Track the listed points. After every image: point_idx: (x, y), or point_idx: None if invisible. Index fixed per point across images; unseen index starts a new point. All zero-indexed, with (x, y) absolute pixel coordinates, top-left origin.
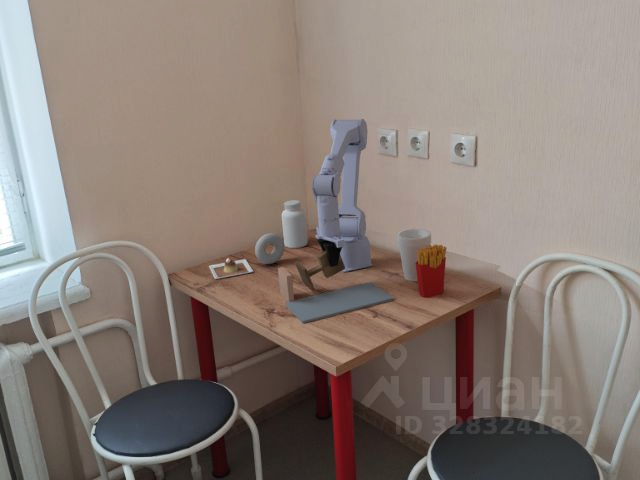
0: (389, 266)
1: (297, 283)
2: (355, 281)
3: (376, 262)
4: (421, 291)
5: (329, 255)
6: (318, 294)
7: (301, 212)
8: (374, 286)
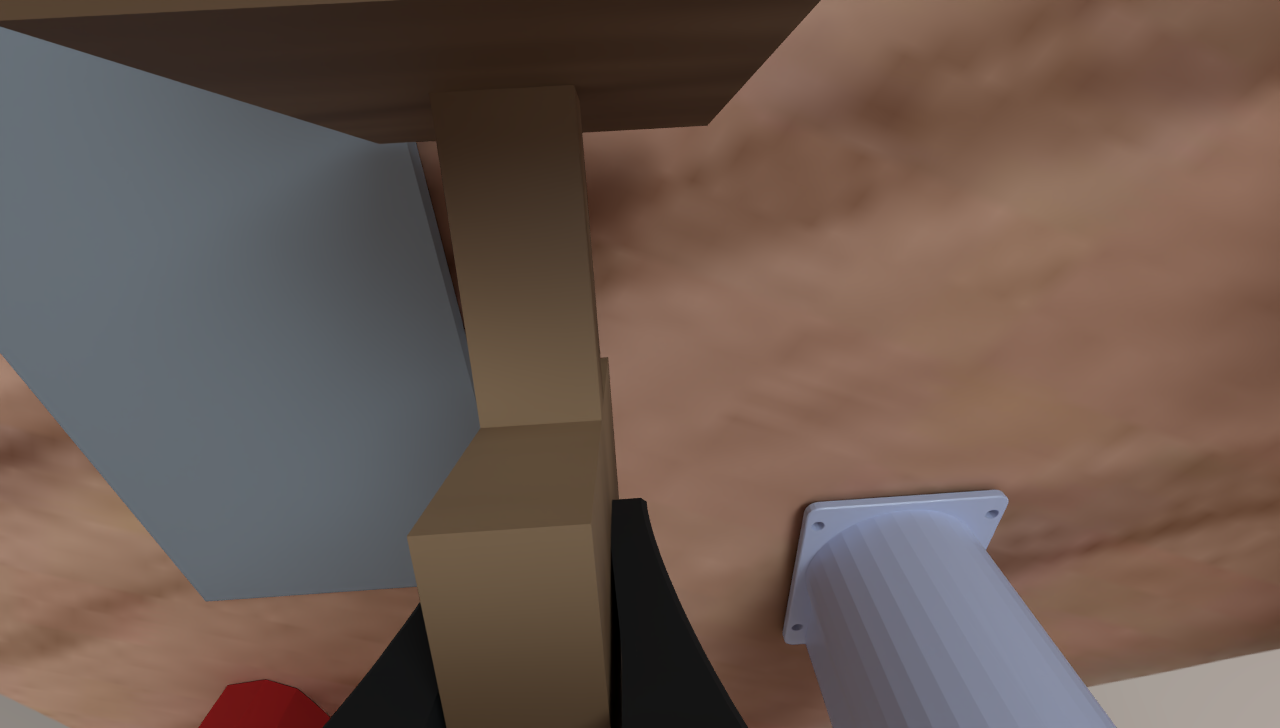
0: None
1: (893, 67)
2: None
3: None
4: (219, 716)
5: (338, 709)
6: (413, 171)
7: None
8: None
